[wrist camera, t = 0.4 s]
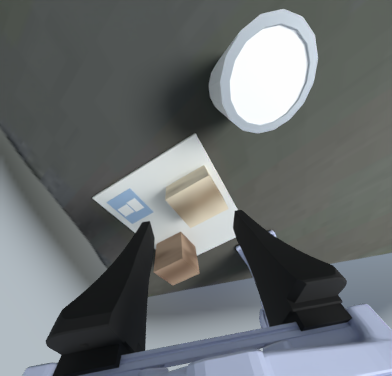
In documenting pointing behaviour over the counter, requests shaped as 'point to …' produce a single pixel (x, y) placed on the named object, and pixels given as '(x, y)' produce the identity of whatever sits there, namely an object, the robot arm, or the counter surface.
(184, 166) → the plate
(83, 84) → the counter surface
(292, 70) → the white tapered cup
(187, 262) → the walnut block
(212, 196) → the maple base block
